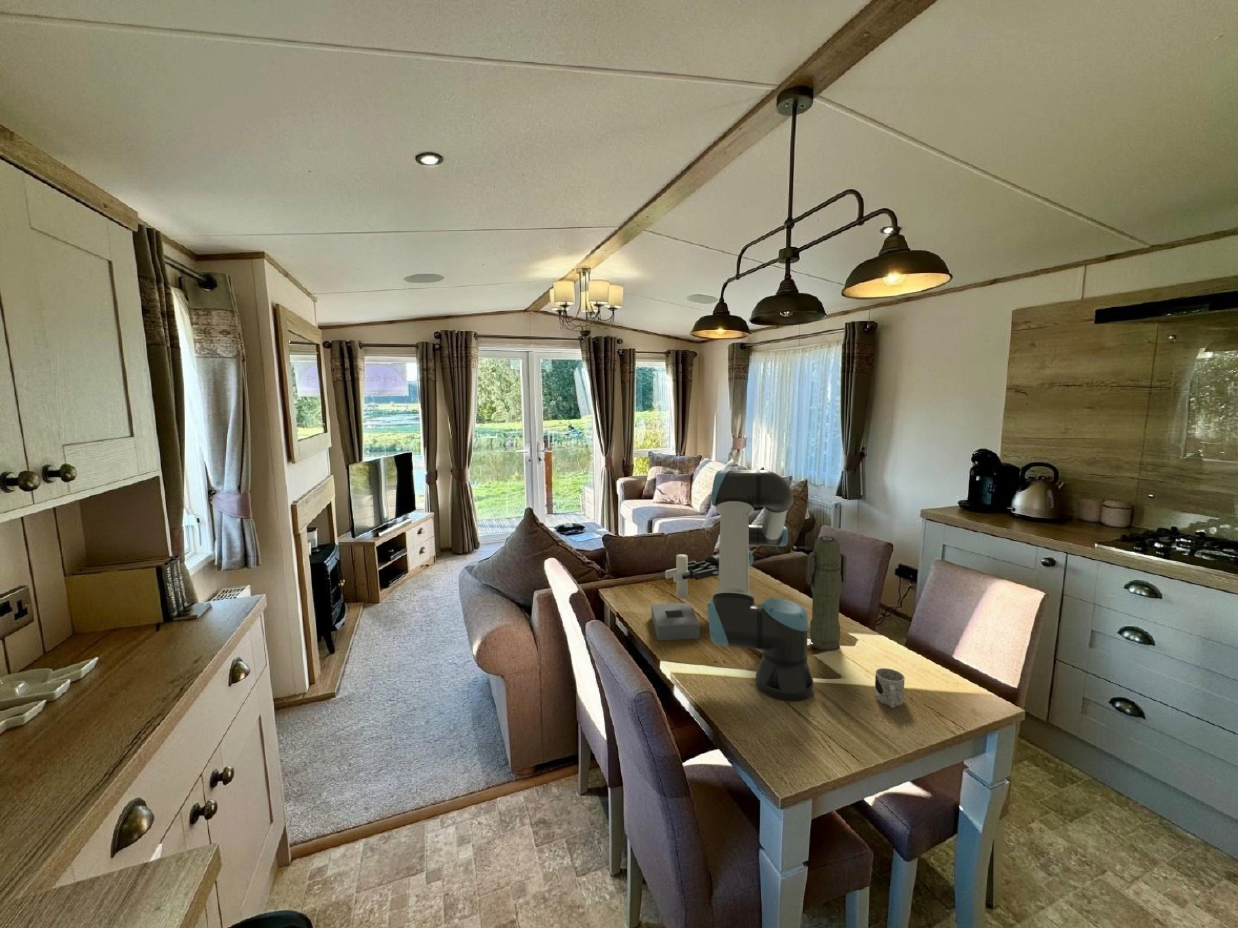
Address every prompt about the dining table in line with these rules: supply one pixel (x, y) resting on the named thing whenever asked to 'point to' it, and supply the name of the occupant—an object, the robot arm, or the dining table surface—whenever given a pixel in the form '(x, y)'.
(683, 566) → the pin
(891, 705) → the mug
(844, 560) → the thermos
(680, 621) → the hole block
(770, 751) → the dining table surface
